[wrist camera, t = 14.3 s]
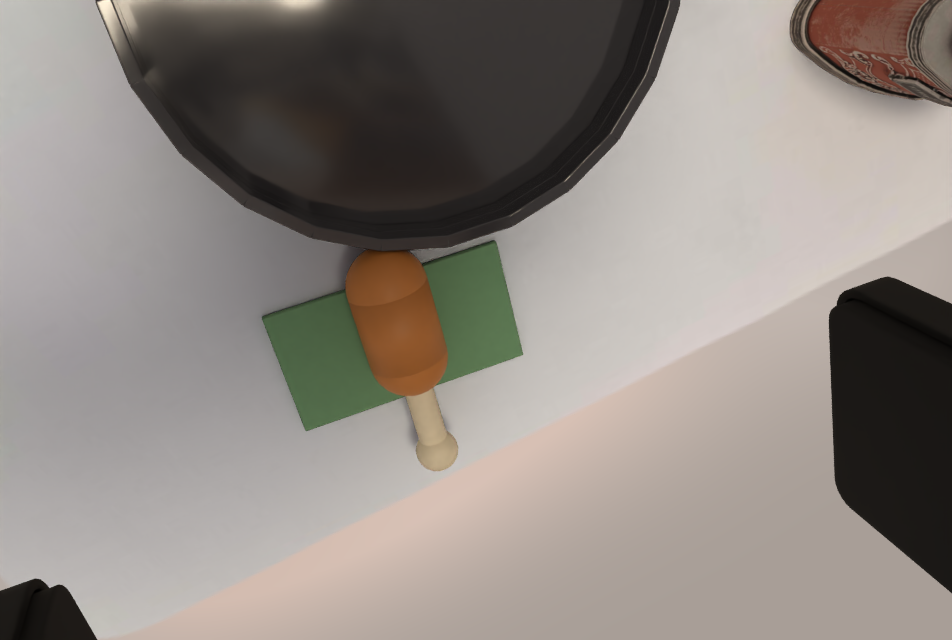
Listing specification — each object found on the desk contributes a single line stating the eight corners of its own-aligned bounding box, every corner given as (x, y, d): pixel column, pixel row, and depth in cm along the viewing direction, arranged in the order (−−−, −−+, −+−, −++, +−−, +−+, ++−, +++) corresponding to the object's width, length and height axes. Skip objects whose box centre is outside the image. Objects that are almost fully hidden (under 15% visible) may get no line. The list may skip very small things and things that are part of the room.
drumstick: (468, 435, 38) (486, 474, 35) (400, 459, 38) (413, 500, 35) (408, 224, 34) (423, 249, 31) (330, 248, 33) (339, 275, 30)
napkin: (305, 428, 36) (306, 431, 36) (261, 316, 34) (262, 319, 33) (521, 352, 38) (523, 355, 37) (494, 239, 35) (496, 242, 35)
